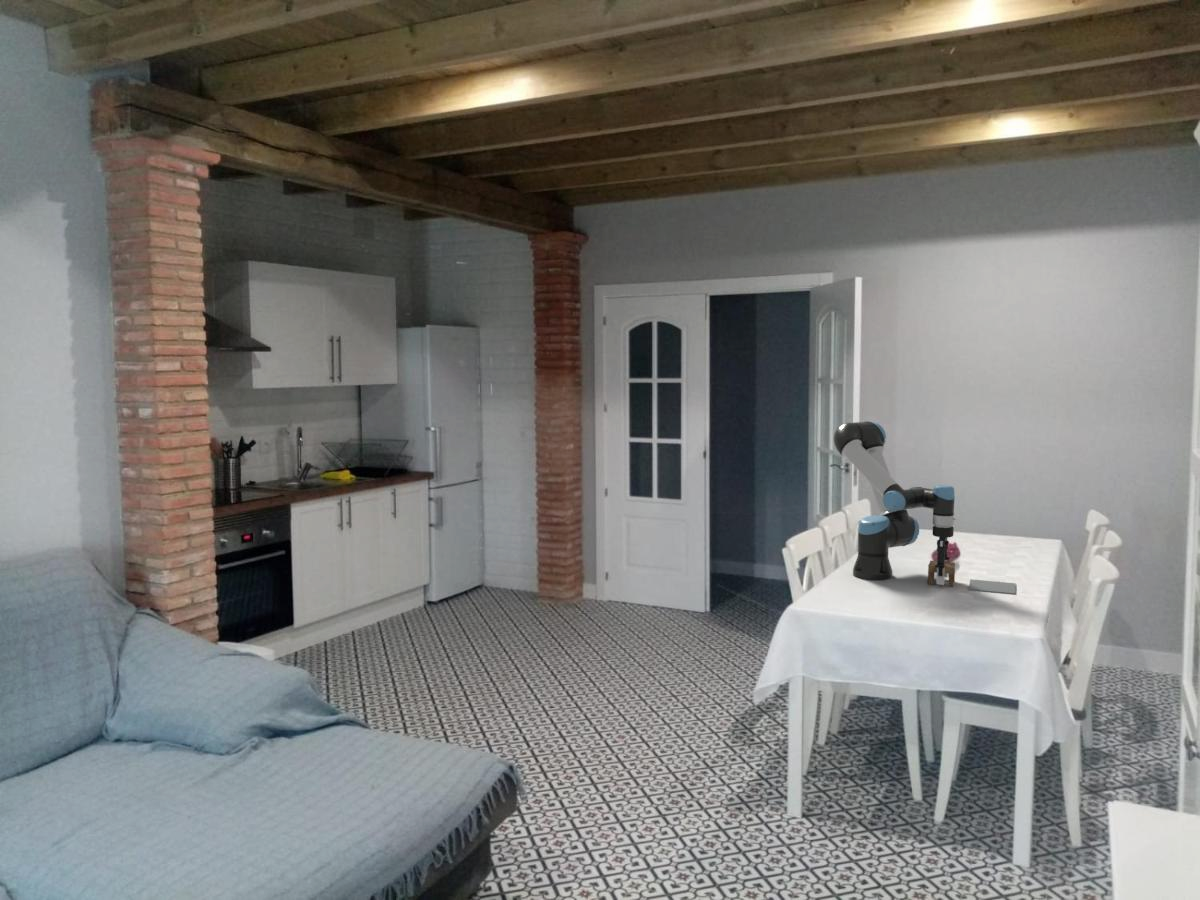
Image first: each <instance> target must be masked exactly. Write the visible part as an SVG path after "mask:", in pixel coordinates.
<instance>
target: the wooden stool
mask: <svg viewBox="0 0 1200 900" xmlns="http://www.w3.org/2000/svg"><path fill="white" fill-rule="evenodd" d="M935 565H937V560H930V561H929V563H928V565H927V568H928V569H927V585H928V586H932V585H933V584H934V583H933V581H935V573H936V574H937V567H935ZM944 566H945V567H944V568H945V573H947V575H948V585H947V586H948V587H950V588H953V587H954V583H955V579H956V577H955V576H956V562H951V561H947V562H944Z"/></svg>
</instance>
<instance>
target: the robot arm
mask: <svg viewBox="0 0 1200 900" xmlns="http://www.w3.org/2000/svg"><path fill="white" fill-rule="evenodd" d="M886 439H887V434H886V430H885V429H884V427H883V426H882V425H880V424H879V423H878V422H875V421H860V422H859V421H857V422H845V423H843V424H840V425H839V426H838V427H837V428H836V430H835V432H834V434H833V445H834V447H835V448H836V451H838V453H839V455H840V456H841V457H842V458H843V459H848V460H849V462H850V463H852V465H853V466H854V467H855V468H856V469H857V470H858V471H859V472H860V474H862V476H863V477H864V478H865V479H866V480H867V481H868V482H869V483H870V486H871V489H872V492H873V494H874V495H873V496H874V498H875V501H876V504H877V506H878V509H879V512H880V514H877V515H868V516H865V517H862V518H861V519H860V520H859V521H858V528H857V535H858V537H857V541H858V542H857V556H856V559H855V563H854V565H853V569H852V575H853V576H854V577H856V578H860V579H865V580H875V581H878V580H888V579H892V578H893V568H892V565H891V562H890V559H889V549H890V548H897V547H905V546H909V545H912V544H914V543H915V542H916V541H917V540H918V536H919V534H920V525H919V524H920V523H919V522H918V520H917V519H916V518H915V517H914V516H912V515H909V513H908V510H910V509H911V510H912V509H918V508H919V509H920V508H925V509H931V510H932V525H933V526H932V536H934V537H937V538H938V539H937V540H936V546H937V547H936V551H937V559H936V561H937V565H935V567H937V573H936V585H942V586H945V578H948V574H947V573H945V568H944V567H945V566H944V562H948V561H949V560H950V557H949V555H948V549H949V540H948V538H953V537H954V526H955V525H954V521H956V518H955V499H956V496H955V488H954V487H953V486H952V485H947V484H937V485H934V487H933V488H927V487H922V486H912V487H910V488H909V489H904V488H903V487H902V486H901V485H899V483H898V482H897V481H896V479H894V478H893V477H892V476H891V473H890V471H889V467H888V465H887V463H886V460H885V458H884V454H883V452H884V450H885V444H886Z"/></svg>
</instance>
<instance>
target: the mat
mask: <svg viewBox="0 0 1200 900" xmlns="http://www.w3.org/2000/svg"><path fill="white" fill-rule="evenodd" d="M1016 587H1017V584H1016V582H1015V583H1014V582H1005V581H995V580H993V581H992V580H983V579H982V580H981V579H970V580H969V584H968V591H973V592H974V591H975V592H985V593H996V594H997V593H998V594H1006V595H1007V594H1008V595H1016Z"/></svg>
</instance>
